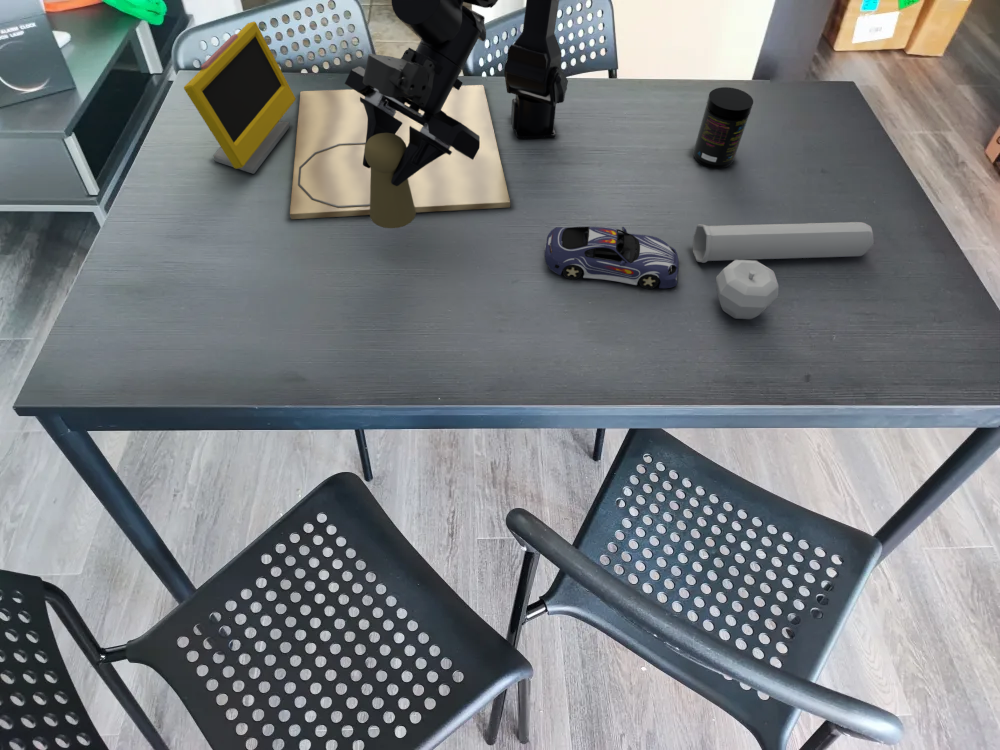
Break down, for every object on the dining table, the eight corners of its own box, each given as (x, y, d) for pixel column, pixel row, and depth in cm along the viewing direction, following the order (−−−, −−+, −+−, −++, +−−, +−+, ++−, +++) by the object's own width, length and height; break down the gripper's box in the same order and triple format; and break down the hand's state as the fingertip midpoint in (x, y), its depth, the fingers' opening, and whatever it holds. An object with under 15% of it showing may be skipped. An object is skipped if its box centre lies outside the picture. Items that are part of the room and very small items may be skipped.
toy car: (677, 293, 94) (685, 265, 91) (540, 276, 96) (543, 247, 92) (676, 255, 99) (684, 226, 96) (546, 239, 101) (549, 210, 97)
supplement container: (737, 153, 116) (757, 93, 108) (728, 174, 112) (748, 114, 104) (697, 142, 118) (714, 83, 110) (687, 163, 114) (704, 103, 106)
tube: (865, 214, 100) (696, 218, 98) (886, 227, 96) (709, 231, 94) (854, 249, 103) (690, 254, 101) (874, 263, 99) (703, 269, 96)
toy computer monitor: (248, 187, 106) (219, 88, 94) (199, 179, 107) (165, 79, 95) (300, 117, 118) (280, 22, 106) (256, 111, 119) (232, 15, 107)
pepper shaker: (372, 198, 94) (362, 124, 86) (417, 199, 95) (411, 126, 86) (367, 228, 91) (356, 153, 82) (414, 228, 91) (407, 155, 82)
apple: (695, 295, 94) (708, 258, 89) (745, 282, 96) (760, 245, 91) (728, 337, 90) (744, 300, 85) (779, 322, 92) (798, 286, 87)
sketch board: (483, 89, 126) (483, 84, 125) (510, 207, 105) (510, 201, 104) (301, 96, 123) (300, 90, 122) (290, 219, 101) (289, 213, 101)
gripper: (345, -4, 80) (286, 122, 84) (461, 55, 72) (391, 190, 76) (402, 42, 90) (347, 152, 93) (510, 97, 82) (445, 215, 86)
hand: (379, 175), depth 87 cm, fingers closed on pepper shaker, 5 cm apart
